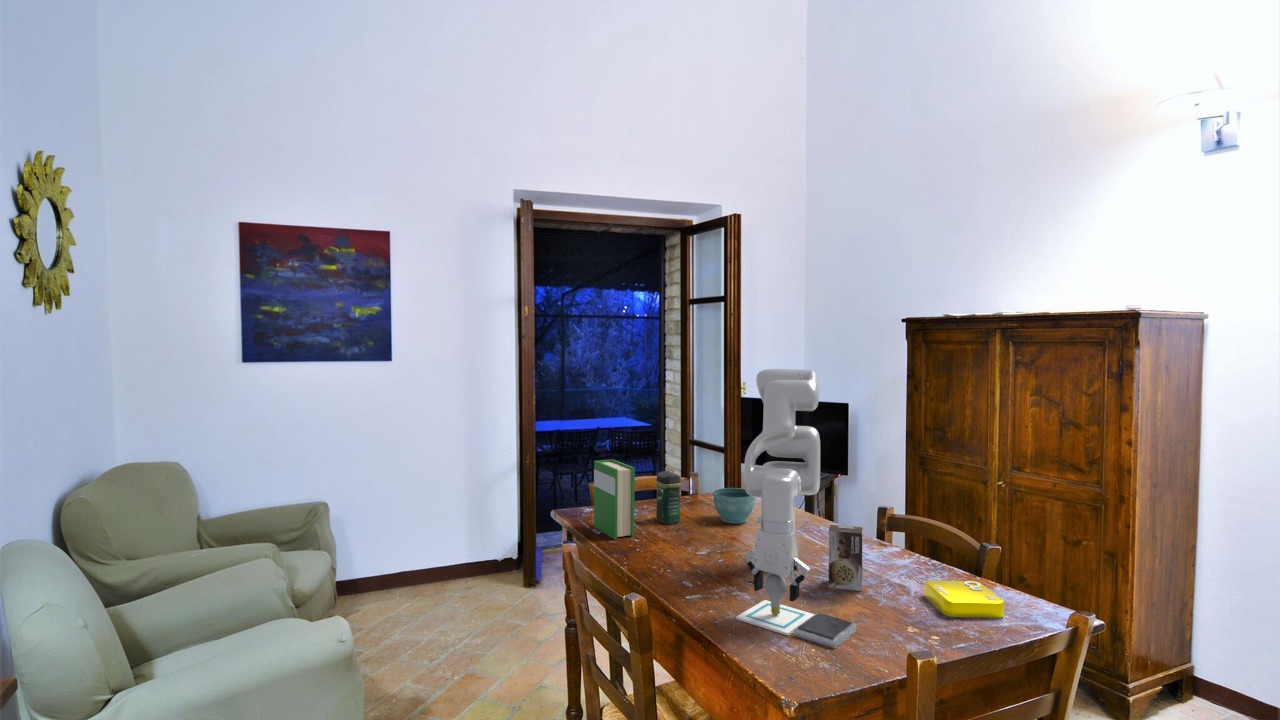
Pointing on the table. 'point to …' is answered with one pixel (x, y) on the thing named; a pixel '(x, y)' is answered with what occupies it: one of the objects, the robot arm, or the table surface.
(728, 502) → the flower pot
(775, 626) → the marked board
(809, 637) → the ink pad
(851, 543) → the coffee box
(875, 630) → the table surface
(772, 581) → the light bulb
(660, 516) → the coffee jar
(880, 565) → the table surface
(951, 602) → the element tile
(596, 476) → the hardback book
